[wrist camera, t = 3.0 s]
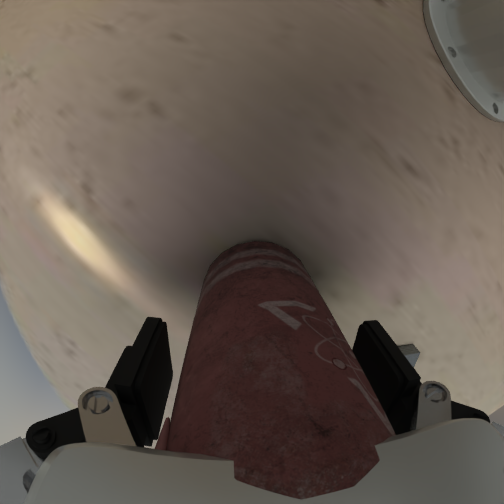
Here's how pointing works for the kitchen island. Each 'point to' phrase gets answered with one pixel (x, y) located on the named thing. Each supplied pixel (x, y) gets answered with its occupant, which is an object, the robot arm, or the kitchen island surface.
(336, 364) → the red can
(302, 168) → the kitchen island surface
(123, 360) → the robot arm
